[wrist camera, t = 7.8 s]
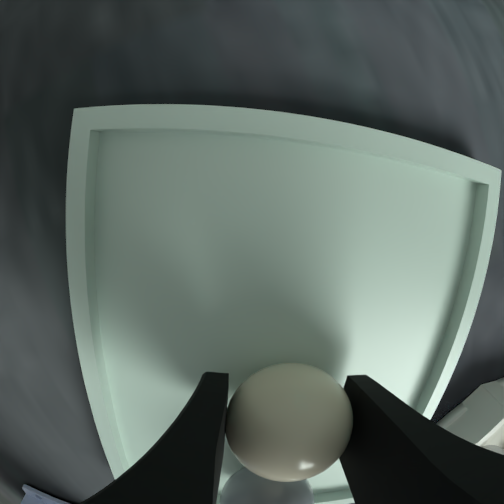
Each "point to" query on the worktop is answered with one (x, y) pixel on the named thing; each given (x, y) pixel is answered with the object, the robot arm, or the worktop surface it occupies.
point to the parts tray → (264, 260)
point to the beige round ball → (289, 422)
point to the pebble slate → (264, 490)
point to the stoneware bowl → (479, 416)
